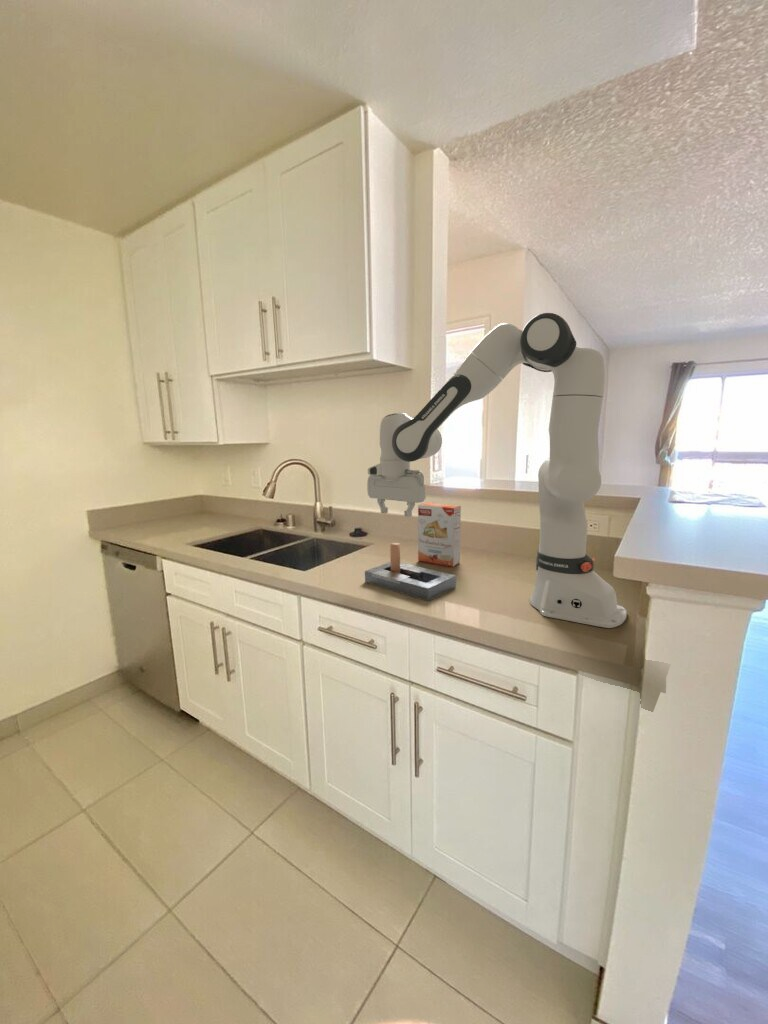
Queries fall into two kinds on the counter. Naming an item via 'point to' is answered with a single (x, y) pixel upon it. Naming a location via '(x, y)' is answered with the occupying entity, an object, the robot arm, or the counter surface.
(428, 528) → the cracker box
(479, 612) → the counter surface
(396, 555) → the peg
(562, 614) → the robot arm
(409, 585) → the keyhole board
